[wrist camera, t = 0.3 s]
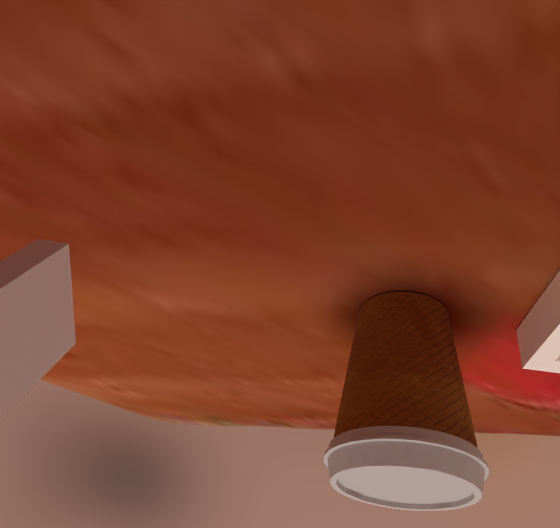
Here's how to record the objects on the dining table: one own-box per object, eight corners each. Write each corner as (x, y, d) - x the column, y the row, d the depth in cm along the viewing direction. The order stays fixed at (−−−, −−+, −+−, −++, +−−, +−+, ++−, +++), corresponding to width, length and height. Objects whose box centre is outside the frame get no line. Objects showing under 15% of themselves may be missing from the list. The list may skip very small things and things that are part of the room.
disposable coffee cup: (502, 304, 35) (530, 492, 28) (422, 360, 42) (428, 521, 35) (376, 259, 33) (370, 448, 26) (315, 325, 40) (297, 488, 33)
